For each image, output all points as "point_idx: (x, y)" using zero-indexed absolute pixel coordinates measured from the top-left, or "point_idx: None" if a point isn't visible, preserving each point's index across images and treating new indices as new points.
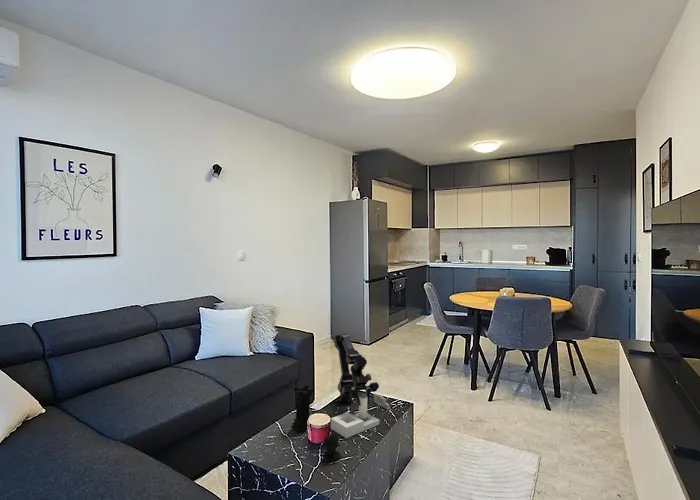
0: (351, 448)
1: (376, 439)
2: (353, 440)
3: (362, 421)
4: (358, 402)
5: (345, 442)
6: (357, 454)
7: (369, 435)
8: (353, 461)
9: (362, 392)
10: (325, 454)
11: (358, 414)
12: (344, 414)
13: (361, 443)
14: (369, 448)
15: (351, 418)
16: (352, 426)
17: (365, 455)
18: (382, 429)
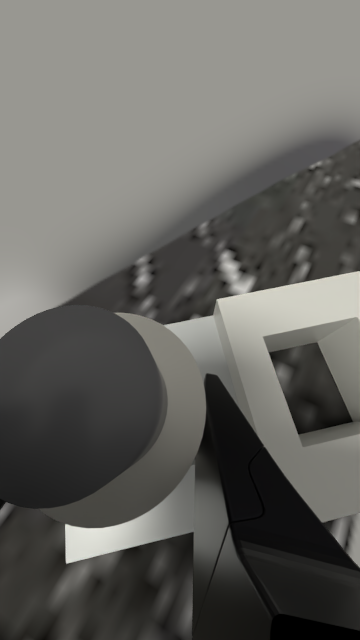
0: (335, 224)
1: (191, 240)
2: (303, 272)
3: (229, 298)
4: (228, 400)
5: (350, 272)
6: (323, 186)
7: (202, 279)
8: (353, 161)
9: (49, 467)
10: None
11: (147, 513)
12: (337, 492)
13: (274, 238)
14: (257, 200)
15: (281, 401)
16: (321, 281)
17: (294, 173)
18: (101, 302)
